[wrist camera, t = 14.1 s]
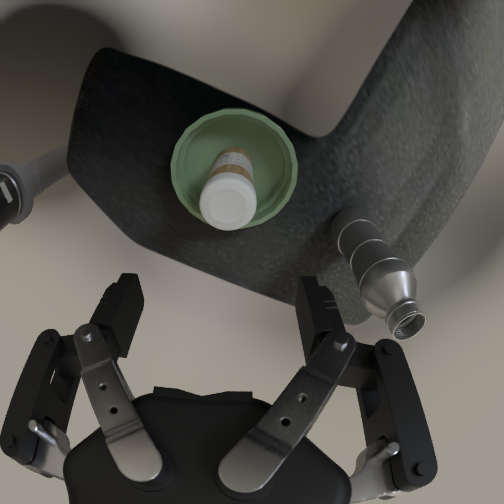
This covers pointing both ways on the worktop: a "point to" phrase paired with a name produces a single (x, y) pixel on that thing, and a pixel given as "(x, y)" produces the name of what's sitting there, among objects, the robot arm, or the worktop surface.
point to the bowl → (248, 138)
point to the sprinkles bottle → (229, 191)
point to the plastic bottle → (379, 273)
